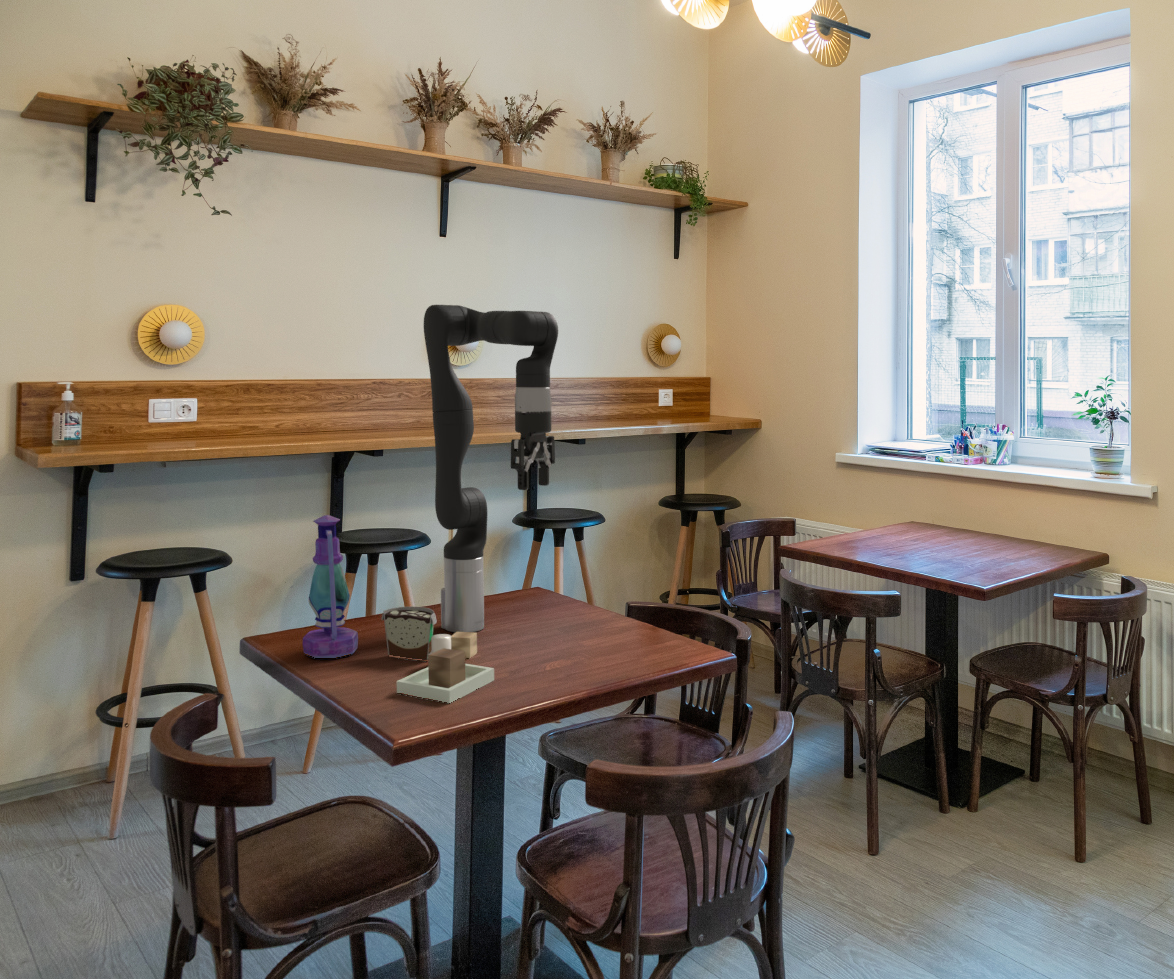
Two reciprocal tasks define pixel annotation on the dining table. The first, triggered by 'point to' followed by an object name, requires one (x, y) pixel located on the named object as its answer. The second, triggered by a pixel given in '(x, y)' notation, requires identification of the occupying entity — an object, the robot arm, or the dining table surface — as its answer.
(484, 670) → the tray
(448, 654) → the walnut block
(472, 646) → the oak cube
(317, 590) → the lantern
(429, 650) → the food container
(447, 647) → the ceramic shaker
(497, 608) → the dining table surface
